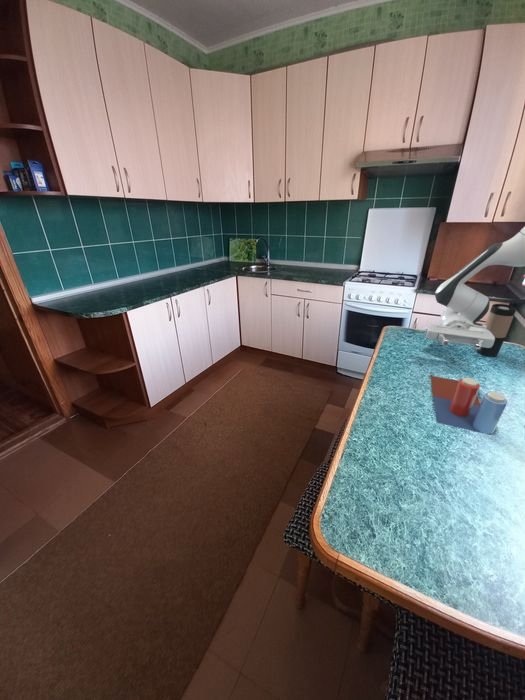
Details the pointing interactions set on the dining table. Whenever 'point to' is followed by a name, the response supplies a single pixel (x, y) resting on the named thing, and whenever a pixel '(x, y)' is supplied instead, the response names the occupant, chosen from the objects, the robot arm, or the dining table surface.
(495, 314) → the travel mug
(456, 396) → the cylinder
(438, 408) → the sorting mat
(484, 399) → the blue shaker
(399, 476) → the dining table surface
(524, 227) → the robot arm
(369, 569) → the dining table surface
